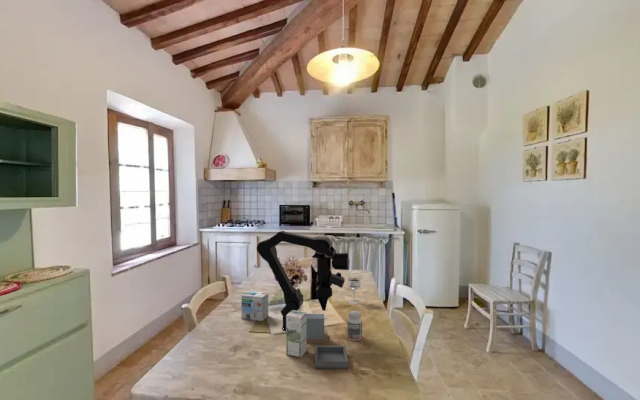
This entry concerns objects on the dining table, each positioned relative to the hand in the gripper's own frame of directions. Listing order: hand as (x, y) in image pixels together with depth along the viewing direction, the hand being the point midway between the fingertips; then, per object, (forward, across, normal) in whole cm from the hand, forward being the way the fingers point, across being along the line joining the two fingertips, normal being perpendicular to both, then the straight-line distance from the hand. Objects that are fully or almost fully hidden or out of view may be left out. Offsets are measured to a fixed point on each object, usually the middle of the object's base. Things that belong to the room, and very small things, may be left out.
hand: (323, 306), depth 136 cm
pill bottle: (+10, -7, -12) cm, 17 cm away
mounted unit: (+10, -8, +4) cm, 13 cm away
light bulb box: (+10, +14, +31) cm, 36 cm away
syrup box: (+10, -19, +10) cm, 24 cm away
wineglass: (+10, +33, -16) cm, 38 cm away
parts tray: (+10, -24, -2) cm, 26 cm away
